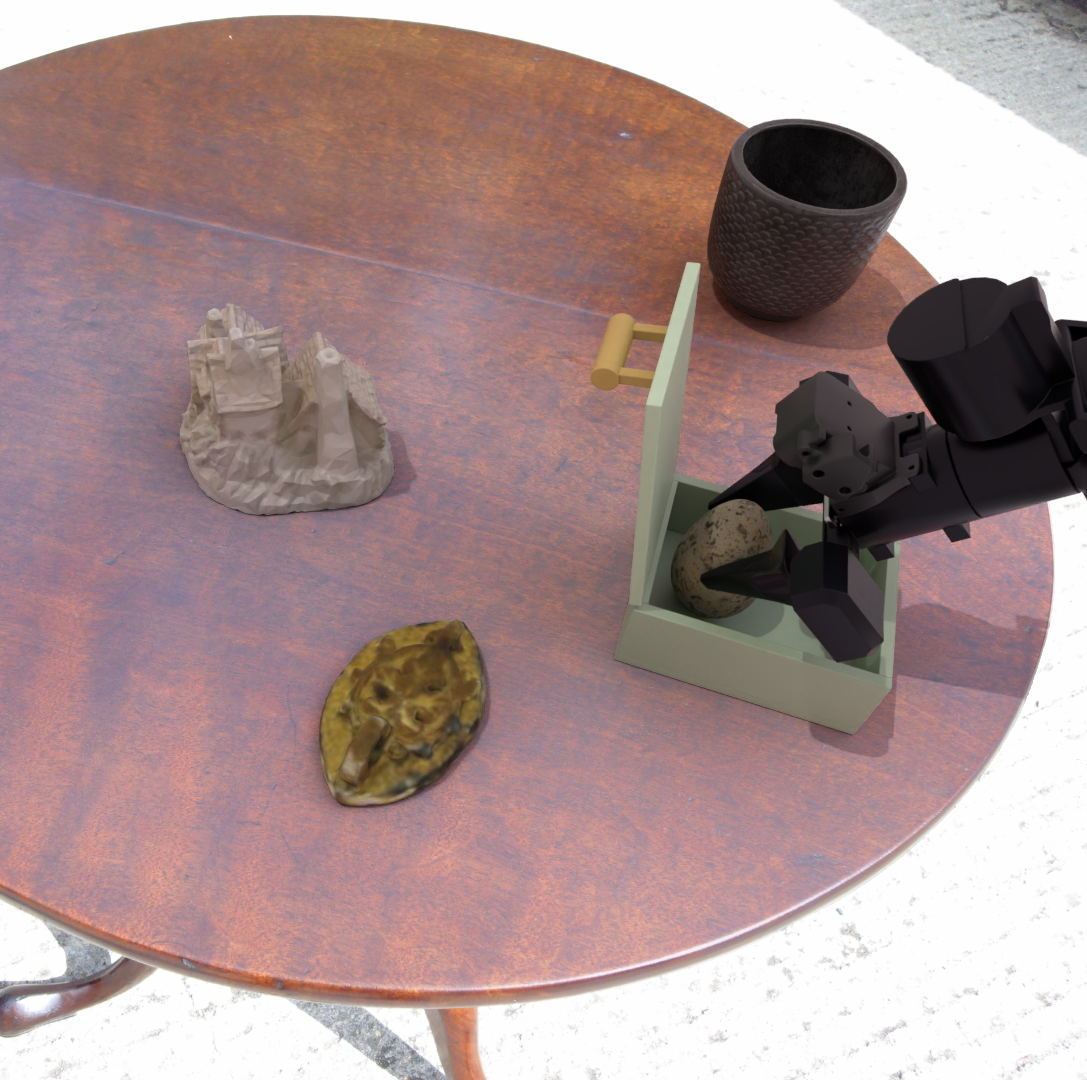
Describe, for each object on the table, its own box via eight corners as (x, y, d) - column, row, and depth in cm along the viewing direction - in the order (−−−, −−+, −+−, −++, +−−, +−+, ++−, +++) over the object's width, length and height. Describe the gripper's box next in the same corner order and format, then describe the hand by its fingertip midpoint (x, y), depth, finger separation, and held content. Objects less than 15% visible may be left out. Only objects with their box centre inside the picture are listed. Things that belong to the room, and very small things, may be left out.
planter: (879, 318, 94) (947, 189, 84) (757, 363, 90) (812, 233, 80) (774, 230, 102) (825, 102, 91) (656, 269, 97) (695, 139, 87)
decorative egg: (641, 596, 73) (679, 501, 65) (696, 553, 76) (739, 457, 68) (709, 653, 70) (758, 561, 63) (764, 607, 73) (818, 513, 65)
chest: (866, 586, 75) (901, 535, 71) (853, 735, 68) (892, 689, 63) (648, 523, 78) (668, 470, 74) (613, 659, 71) (633, 609, 66)
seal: (394, 608, 74) (280, 780, 66) (391, 564, 71) (270, 739, 62) (519, 657, 71) (416, 845, 62) (522, 613, 67) (413, 806, 59)
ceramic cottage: (396, 515, 78) (400, 349, 66) (170, 519, 78) (136, 353, 66) (390, 378, 88) (392, 215, 77) (191, 381, 88) (164, 218, 77)
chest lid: (700, 262, 61) (623, 255, 63) (661, 406, 54) (574, 394, 55) (676, 466, 73) (612, 456, 75) (641, 606, 66) (570, 593, 67)
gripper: (899, 262, 61) (656, 366, 71) (909, 500, 49) (619, 583, 59) (977, 393, 66) (739, 472, 76) (1002, 636, 54) (720, 691, 65)
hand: (706, 545), depth 69 cm, fingers open, 6 cm apart
